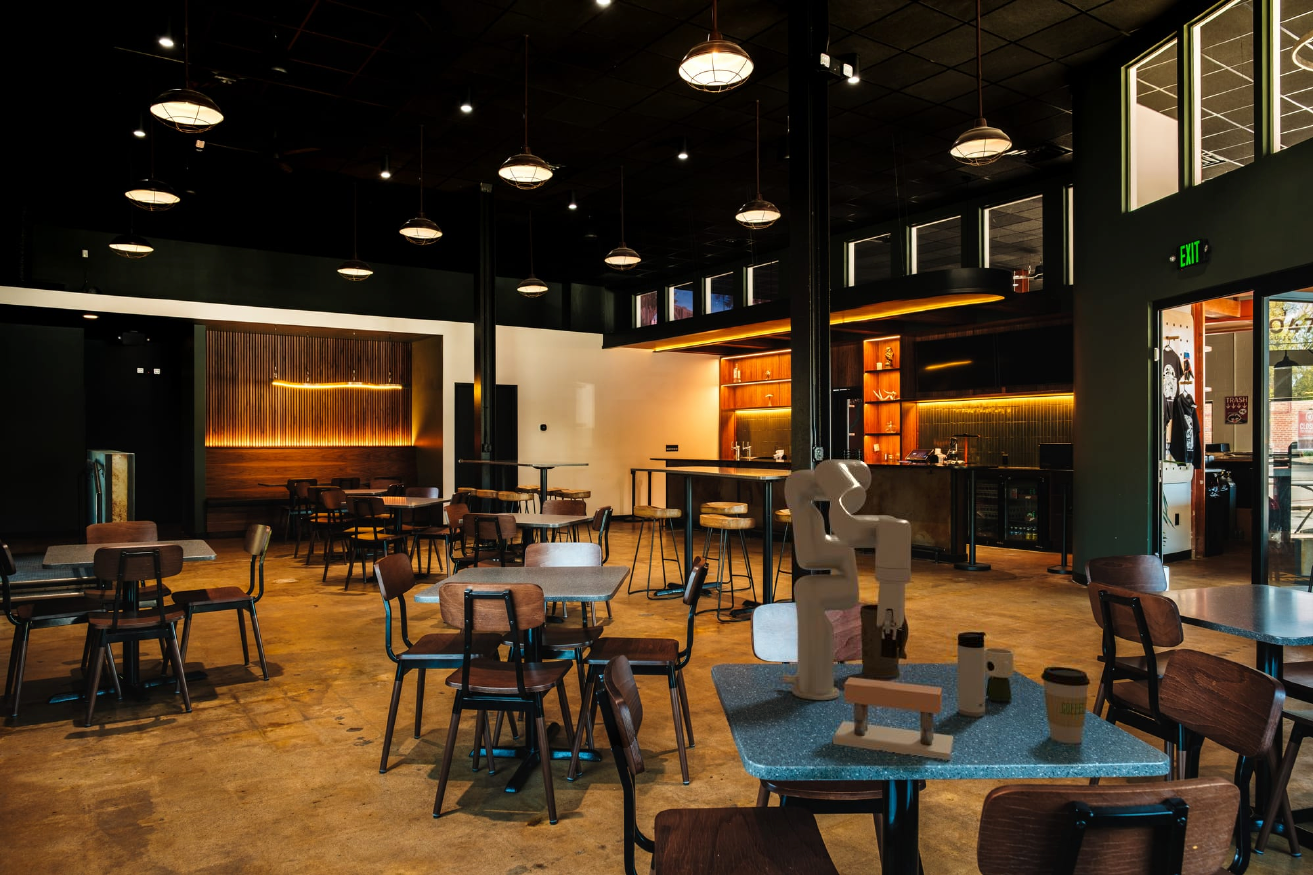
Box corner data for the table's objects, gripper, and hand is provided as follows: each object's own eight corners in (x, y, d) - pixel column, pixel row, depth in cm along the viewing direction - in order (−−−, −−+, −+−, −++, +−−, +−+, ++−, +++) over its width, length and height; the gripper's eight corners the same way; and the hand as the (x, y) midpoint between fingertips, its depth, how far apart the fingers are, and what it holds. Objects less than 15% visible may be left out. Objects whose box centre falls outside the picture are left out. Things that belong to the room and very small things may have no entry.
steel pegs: (853, 735, 174) (853, 702, 174) (857, 727, 180) (857, 696, 180) (931, 746, 168) (931, 712, 168) (934, 737, 173) (933, 705, 173)
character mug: (977, 694, 213) (976, 645, 213) (1003, 694, 213) (1003, 646, 213) (993, 706, 202) (993, 655, 202) (1021, 706, 202) (1021, 655, 202)
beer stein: (878, 681, 225) (877, 610, 226) (852, 672, 235) (852, 604, 235) (917, 675, 232) (917, 606, 233) (891, 667, 242) (891, 601, 243)
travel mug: (988, 718, 192) (988, 635, 193) (960, 716, 194) (959, 633, 194) (983, 710, 198) (983, 630, 199) (955, 708, 200) (955, 628, 200)
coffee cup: (1089, 749, 171) (1088, 679, 172) (1039, 740, 176) (1038, 672, 177) (1092, 736, 179) (1091, 669, 180) (1044, 728, 185) (1043, 663, 185)
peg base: (833, 743, 173) (833, 736, 173) (843, 727, 184) (843, 721, 184) (950, 760, 163) (949, 753, 163) (953, 742, 174) (953, 735, 174)
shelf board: (844, 701, 175) (844, 683, 176) (849, 694, 181) (849, 677, 181) (940, 713, 167) (939, 694, 167) (942, 706, 173) (941, 687, 173)
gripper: (880, 568, 185) (880, 641, 184) (869, 578, 169) (868, 659, 169) (914, 570, 182) (913, 645, 181) (906, 581, 166) (905, 663, 166)
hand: (891, 652), depth 175 cm, fingers open, 9 cm apart
